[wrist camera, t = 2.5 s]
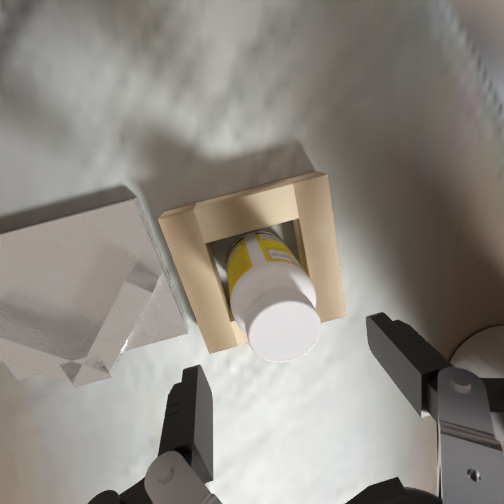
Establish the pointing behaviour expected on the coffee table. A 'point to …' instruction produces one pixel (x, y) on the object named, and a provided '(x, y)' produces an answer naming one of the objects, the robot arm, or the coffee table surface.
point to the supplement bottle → (272, 298)
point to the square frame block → (244, 220)
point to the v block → (83, 294)
